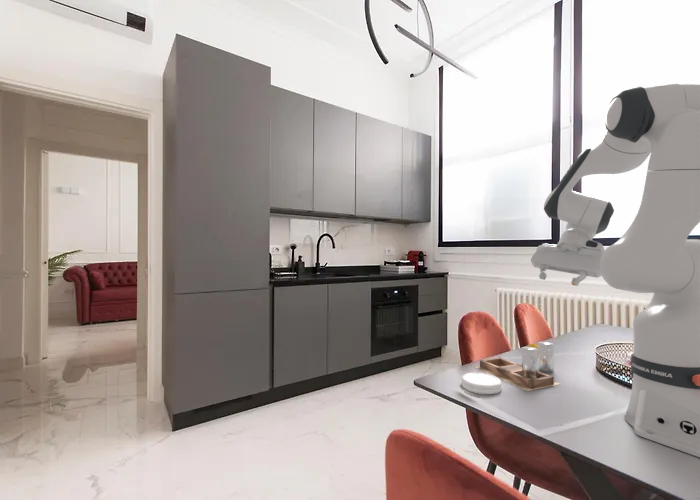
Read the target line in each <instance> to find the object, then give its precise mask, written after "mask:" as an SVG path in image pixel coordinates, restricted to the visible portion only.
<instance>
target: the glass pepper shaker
mask: <svg viewBox="0 0 700 500" xmlns="http://www.w3.org/2000/svg"><path fill="white" fill-rule="evenodd" d="M537 343H538V344H537V345H538V371H539V372H540V371H541V373H549V374H550V373H554V372H555V363H554V359H555V358H554V357H555V355H554V354H555V353H554V351H555V350H554V349H555V348H554V343H552V342H548V341H538V342H537Z"/></svg>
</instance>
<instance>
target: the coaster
mask: <svg viewBox="0 0 700 500" xmlns="http://www.w3.org/2000/svg"><path fill="white" fill-rule="evenodd" d="M502 384H503V382H502V380H501V379H499V378H497V377H495V376H493V375H490V374H488V373H485V372H469V373H465V374H463V375H462V376H461V386H462V387H461V390H462V391H464V394H466V395H468V396H470V397H474V398H478V399H480V397H479V396H478V395H475V394H479V395H496V394H498V393H500V392H501V391H502V390H503V389H502V388H503V387H502Z"/></svg>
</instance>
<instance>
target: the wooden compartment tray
mask: <svg viewBox="0 0 700 500" xmlns="http://www.w3.org/2000/svg"><path fill="white" fill-rule="evenodd" d="M473 368H474V369H476V370H478V371H481V372H482V373H485V374H490V375H493V376H495V377H497V378H499V379H500V380H501V381H504V382H506V383H508V384H510V385H513V386H515V387H517V388H520V389H521V390H524V391H527V392H529V391H533V390H534V391H535V390H539V389H544V388H548V387H555V386H558V385H561V383H559V382H557V381H554V379H555V377H554V376H552V375H550V374H546V373H545V372H542V371H541V372H540V370H538V378H536V379H529V378H526V377H524V376H522V364H519V363H516V362H514V361H511V360H509V359H505V358H503V357H500V356H499V357H493V358H488V359H480V360H479V366H473Z"/></svg>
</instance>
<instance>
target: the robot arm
mask: <svg viewBox="0 0 700 500" xmlns="http://www.w3.org/2000/svg"><path fill="white" fill-rule="evenodd" d="M606 109H607V110H606V114H605V129H606V132H605V134H604V136H603V137H602V139H601V140H600V141H599V142H598V143H597V144H595V145H594V146H592V147H587V148H585V149H584V150H582V151H581V152H580V153H579V155H578V156H577V157H576V159H575V160H574V161H573V163H572V164H571V166H570V167H568V169H567V171H566V173H565V174H564V175H563V177H562V178H561V179H560V181H559V183H558V184H557V186H556V187H555V188H554V189H553V190H552V191H551V192H550V193H549V195H548V196H547V198H546V199H545V202H544V204H543V211H544V213H545V214H546V215H547V217H548V218H550V219H554V220H557V221H563V222H566V223H567V224H566V227H565V231H563V233H562V234H561V236H560V238H559V241H558V242H557V244H554V243H552V244H549V243H542V244H540V245H538V246H537V248H536V250H535V252H534V253H533V255H532V256H531V258H530V262H531V264H532V266H533V268H535V269H536V268H537V269H539V272H540V273H539V276H538V278H539V279H540V280H544V281H545V280H546V278H547V277H548V275H547V273H546V271H547V270H548V271H554V272H555V271H556V272H560V273H568V274H573V275H578V276H576V277H572V279H571V285H572V286H575V287H579V284H580V283H581V282H583V281H584V280H585V279H586V278H587V277H592V278H596V279H597V278H600V277H602V278H603V280H604V282H606V283H607V285H608V286H609V287H611V288H613V289H616V290H620V291H625V292H632V293H637V294H648V293H649V294H653V295H652V299H651V300H650V301H649V304H648V305H647V306H646V307H645V308H644V309H643V310H642V311H640V312H639V313H638V314H637V315H636V316H635V317H634V320H633V322H632V330H633V331H632V333H633V335H632V336H633V338H632V339H633V340H632V341H633V345H632V346H633V353H631V356H630V373H631V377H632V384H631V385H632V386H631V393H630V397H629V402H628V406H627V410H626V412H625V414H624V419H625V421H626V422H627V423H628V424H629V425H630V426H631V427H632V428H633V431H634V433H635V435H637V436H638V437H642V438H645V439H647V440H649V441H652V442H655V443H658V444H660V445H664V446H667V447H670V448H672V449H676V450H678V451H681V452H684V453H686V454H689V455H691V456H693V457H694V456H695V457H698V458H700V239H696V238H695V239H694V238H693V239H689V238H688V237H689V236H690V234H691V233H692V231H693V230H694V229H695V228H696V226H698V225H699V224H700V84H696V83H694V84H689V83H687V84H686V83H685V84H683V83H682V84H680V83H668V84H657V85H649V86H635V87H631V88H627V89H624V90H621V91H619V92H617V94H616V95H615V96H614V97H613V98H612V99H611V101H610V102H609V105H608V107H607V108H606ZM648 157H649V159H648ZM647 159H648V164H647V170H646V177H645V181H644V188H643V194H642V197H641V202H640V206H639V209H638V212H637V213H636V215H635V217H634V219H633V221H632V223H631V224H630V226H629V227H628V229H627V230H626V232H624V234H623V235H622V236H621V237H620V238H619V239H618V240H617V241H616V242H614V243H612V244H611V245H609V246H608V247H607V248H606V249H605V247H604V245H603V244H602V243H601V242H598V241H595V240H593V239H594V237H596V235H598V234H600V233H602V232H605V231H606V230H607V228H608V226H609V224H610V221H611V218H612V216H614V215H613V214H614V211H615V209H614V207H613V205H612V203H611V202H610V201H608V200H606V199H603V198H600V197H596V196H592V195H589V194H584V193H581V192H577V191H575V190H573V189H574V188H575V186H576V185H577V184H578V182H579V181H580V179H582V178H584V177H585V176H590V175H618V174H622V173H627V172H630V171H632V170H635V169H637V168H639V167H640V166H641V165H642V164H643V163H644V162H646V160H647Z"/></svg>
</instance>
